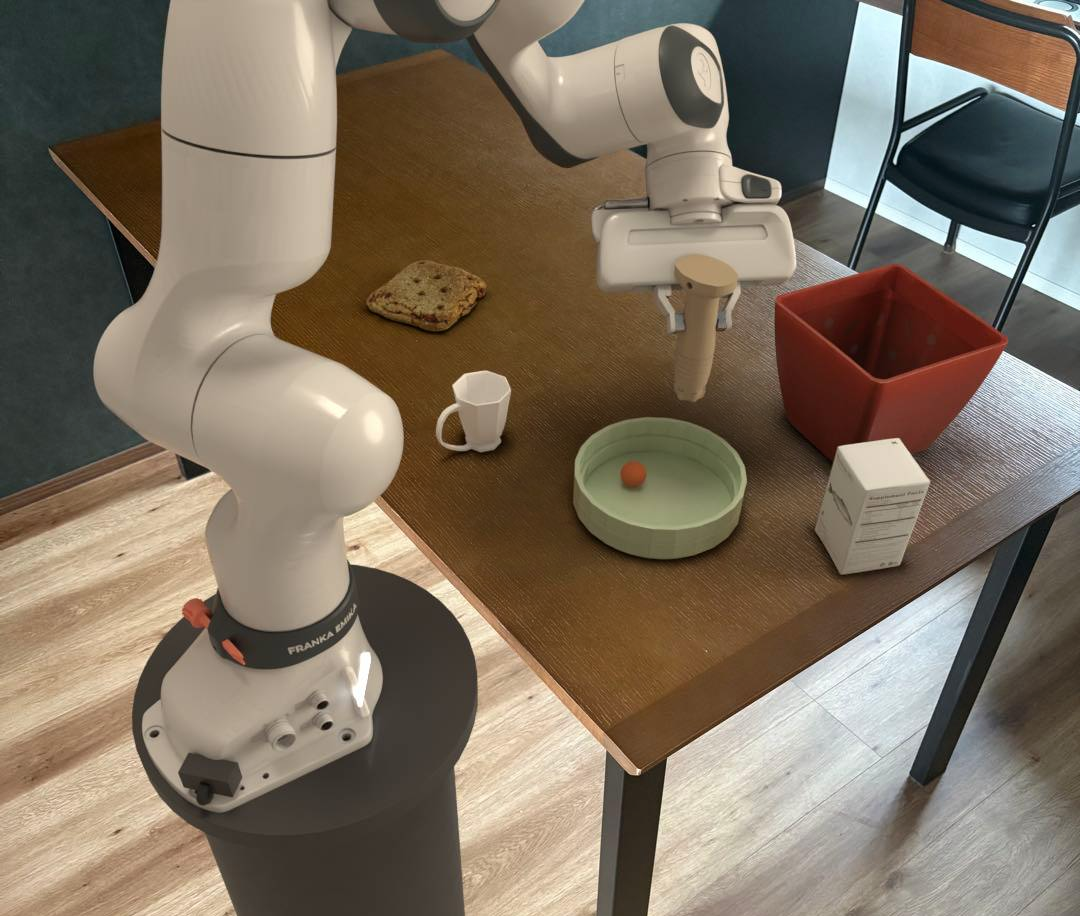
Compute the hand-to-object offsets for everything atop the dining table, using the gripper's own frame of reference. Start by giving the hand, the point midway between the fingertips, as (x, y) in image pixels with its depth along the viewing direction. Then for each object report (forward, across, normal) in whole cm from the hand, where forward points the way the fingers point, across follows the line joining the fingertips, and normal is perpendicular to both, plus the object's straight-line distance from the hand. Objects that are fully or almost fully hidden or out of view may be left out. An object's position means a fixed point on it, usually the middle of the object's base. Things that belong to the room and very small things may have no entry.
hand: (699, 331), depth 110 cm
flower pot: (+9, +25, +22) cm, 35 cm away
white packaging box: (+24, +18, +9) cm, 31 cm away
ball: (+13, -5, +16) cm, 21 cm away
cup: (+8, -23, +24) cm, 34 cm away
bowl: (+16, -2, +15) cm, 23 cm away
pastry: (-16, -27, +48) cm, 57 cm away
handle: (+6, 0, +6) cm, 9 cm away
